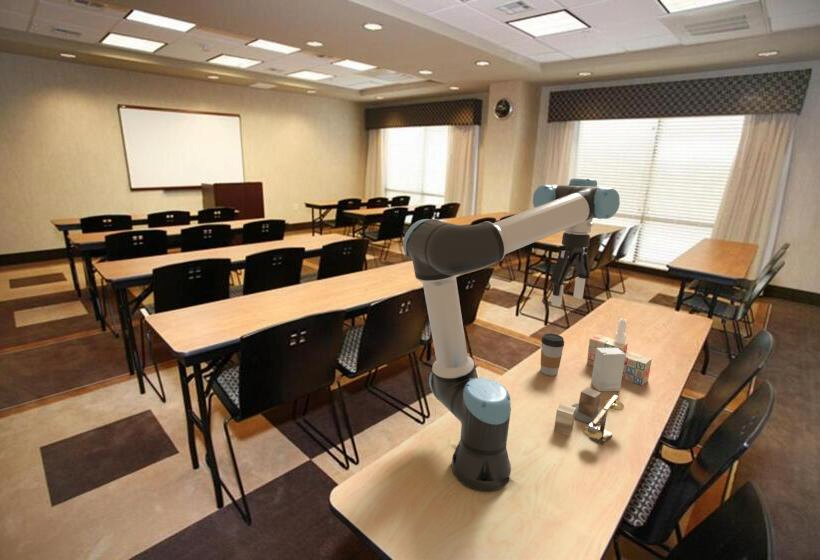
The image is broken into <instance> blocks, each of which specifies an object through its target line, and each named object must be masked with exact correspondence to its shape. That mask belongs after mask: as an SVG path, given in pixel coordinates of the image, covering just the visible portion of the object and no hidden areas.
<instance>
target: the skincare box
mask: <svg viewBox="0 0 820 560" xmlns="http://www.w3.org/2000/svg"><path fill="white" fill-rule="evenodd" d="M625 356H626V354H625V353H623V352H622V351H621V350H620V349H619V348H596V353H595V360H594V366H592V375H591V382H590V383H591V385H593V386H594V388H595V389H596V391H598V392H620V391H621V387H622V386H621V385H622V384H621V383H622V379H623V378H622V374H623V368H624V362H625Z"/></svg>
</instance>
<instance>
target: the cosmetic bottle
mask: <svg viewBox="0 0 820 560" xmlns="http://www.w3.org/2000/svg"><path fill="white" fill-rule="evenodd" d="M627 325H628V322H627V319H626V318H622V317H621V318H620V319H619V321H618V326H617V330H616V332H615V334H614V338H613V339H614V342H615V343H617V344H625V343H626V337H627V335H626V329H627Z"/></svg>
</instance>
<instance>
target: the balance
mask: <svg viewBox="0 0 820 560" xmlns="http://www.w3.org/2000/svg"><path fill="white" fill-rule="evenodd" d="M618 398H619V396H618V395H616V394H614V395H613V396H612V397H611V398H610V399H607V400H605V403H604V404H605V406H604V407H603V408H602V409H601V412H600V413H599V414H598V416H597V417H596V418H595V419H594V421H593V422H592V423H591V424H588V425H587V426H584V427H583V429H582V433H583V435H584V436H586V437H588V438H589V439H592V440H593V441H595V442H596V443H600V445H605V443H606V442H607V441H609V440H610V439H611V438H612V437H613V432H611V431H608V430H606V429H605V428H606V422H607V417H608V411H609V410H610V409H611V410H613V411H623V410H624V409H625V405H624V404H623V403H622V402H621V401H618V400H619V399H618ZM600 420H601V423H600V426H599V424H598V423H599V421H600Z"/></svg>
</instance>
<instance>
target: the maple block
mask: <svg viewBox="0 0 820 560" xmlns="http://www.w3.org/2000/svg"><path fill="white" fill-rule="evenodd" d="M575 412H576V408H575V407H572V405H568V404H565V403H562V402H561V403H559V405H558V407H557V409H556V413H555V418H554V419H555V420H554V426H553V430H554V431H556V432H557V433H560V434H563V435H567V436H569V437H570V436H571V433H572V431H573V429H574V423H575Z"/></svg>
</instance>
